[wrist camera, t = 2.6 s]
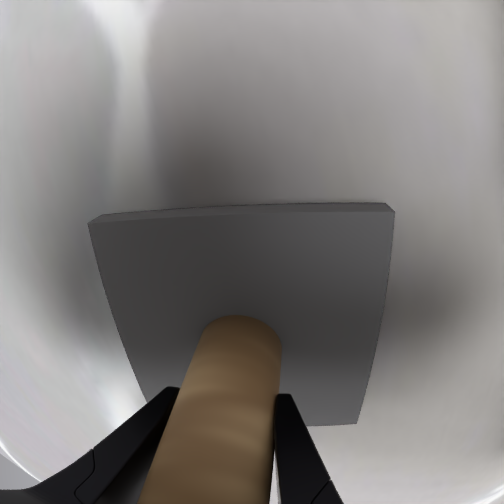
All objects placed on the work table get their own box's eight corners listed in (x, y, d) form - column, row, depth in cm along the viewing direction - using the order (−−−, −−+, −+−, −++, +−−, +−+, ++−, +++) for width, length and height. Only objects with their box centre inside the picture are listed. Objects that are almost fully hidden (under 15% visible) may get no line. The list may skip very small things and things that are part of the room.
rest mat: (385, 203, 9) (394, 211, 8) (354, 408, 13) (356, 423, 12) (102, 214, 11) (87, 223, 10) (158, 400, 15) (152, 414, 14)
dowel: (281, 315, 10) (262, 524, 4) (282, 377, 11) (267, 549, 5) (194, 314, 11) (113, 495, 4) (207, 374, 12) (157, 532, 5)
